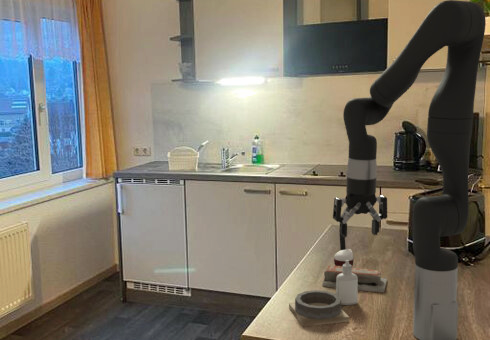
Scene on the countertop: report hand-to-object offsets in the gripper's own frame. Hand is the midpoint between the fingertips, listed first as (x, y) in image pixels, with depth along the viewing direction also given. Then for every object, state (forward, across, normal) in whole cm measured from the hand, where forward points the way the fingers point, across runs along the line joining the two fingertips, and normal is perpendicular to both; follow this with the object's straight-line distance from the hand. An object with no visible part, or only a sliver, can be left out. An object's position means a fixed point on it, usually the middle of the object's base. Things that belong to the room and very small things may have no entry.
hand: (359, 235), depth 141 cm
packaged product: (+20, +5, +14) cm, 25 cm away
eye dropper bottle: (+19, -3, 0) cm, 19 cm away
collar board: (+19, -13, -5) cm, 23 cm away
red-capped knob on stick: (+20, +7, +27) cm, 34 cm away
